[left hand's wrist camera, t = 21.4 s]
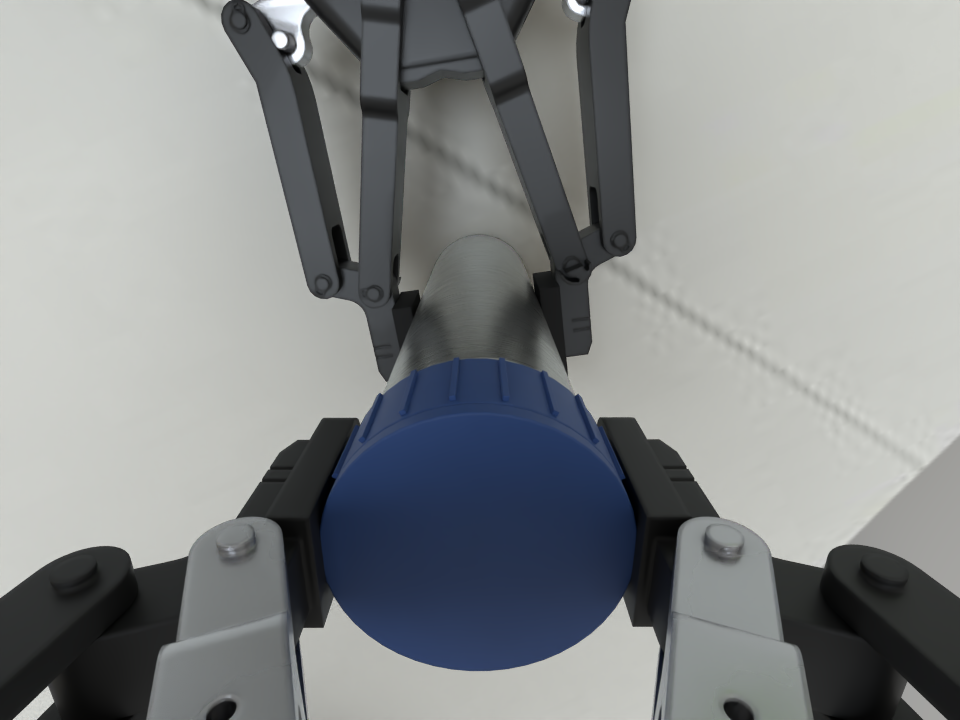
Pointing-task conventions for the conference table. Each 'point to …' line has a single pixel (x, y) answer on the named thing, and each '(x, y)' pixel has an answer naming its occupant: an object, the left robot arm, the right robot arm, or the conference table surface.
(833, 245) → the conference table surface
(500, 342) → the jar
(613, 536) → the lid
